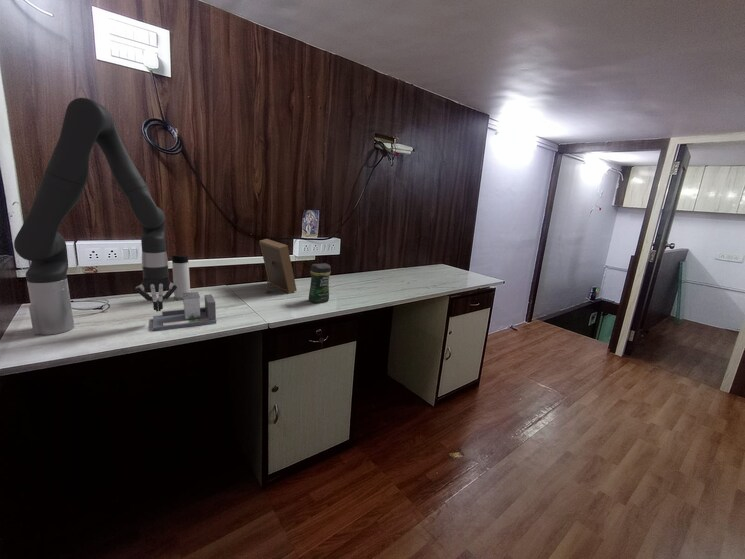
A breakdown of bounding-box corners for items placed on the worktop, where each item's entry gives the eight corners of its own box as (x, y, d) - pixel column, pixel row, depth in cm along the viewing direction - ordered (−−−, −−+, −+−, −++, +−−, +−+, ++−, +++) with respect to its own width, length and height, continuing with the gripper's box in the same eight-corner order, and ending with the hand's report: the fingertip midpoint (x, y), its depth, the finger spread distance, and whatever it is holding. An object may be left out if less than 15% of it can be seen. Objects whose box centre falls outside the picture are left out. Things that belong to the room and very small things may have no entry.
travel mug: (171, 299, 145) (168, 255, 140) (179, 295, 151) (176, 252, 146) (185, 300, 145) (183, 256, 140) (193, 296, 151) (190, 253, 146)
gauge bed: (153, 331, 114) (151, 308, 112) (153, 319, 123) (151, 298, 121) (216, 323, 125) (215, 302, 123) (211, 312, 134) (211, 293, 132)
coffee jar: (315, 304, 155) (316, 266, 151) (306, 299, 161) (307, 262, 156) (331, 301, 162) (334, 264, 157) (322, 296, 167) (324, 261, 163)
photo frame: (276, 282, 186) (276, 238, 179) (296, 292, 171) (297, 244, 164) (250, 285, 175) (249, 239, 169) (270, 296, 161) (270, 246, 154)
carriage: (185, 322, 119) (184, 300, 117) (183, 314, 127) (182, 293, 124) (201, 320, 122) (200, 298, 120) (198, 312, 129) (197, 291, 127)
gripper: (131, 267, 108) (135, 316, 112) (177, 265, 115) (180, 312, 120) (132, 262, 114) (136, 309, 118) (176, 261, 121) (178, 305, 126)
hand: (158, 310), depth 119 cm, fingers closed
